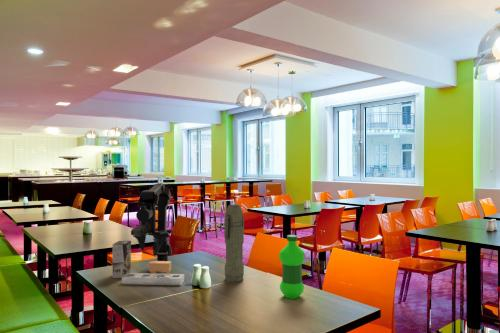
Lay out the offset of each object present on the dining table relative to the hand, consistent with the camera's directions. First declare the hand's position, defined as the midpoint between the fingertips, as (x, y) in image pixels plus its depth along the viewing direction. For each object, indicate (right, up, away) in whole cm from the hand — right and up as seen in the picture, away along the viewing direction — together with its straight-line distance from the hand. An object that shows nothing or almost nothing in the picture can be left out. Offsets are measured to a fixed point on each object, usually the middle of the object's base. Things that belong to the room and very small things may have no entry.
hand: (149, 251), depth 184 cm
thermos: (+39, -14, +2) cm, 42 cm away
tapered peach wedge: (+3, -13, +8) cm, 16 cm away
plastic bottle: (+64, -14, -21) cm, 68 cm away
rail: (+2, -14, -2) cm, 14 cm away
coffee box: (-15, -14, +9) cm, 22 cm away
